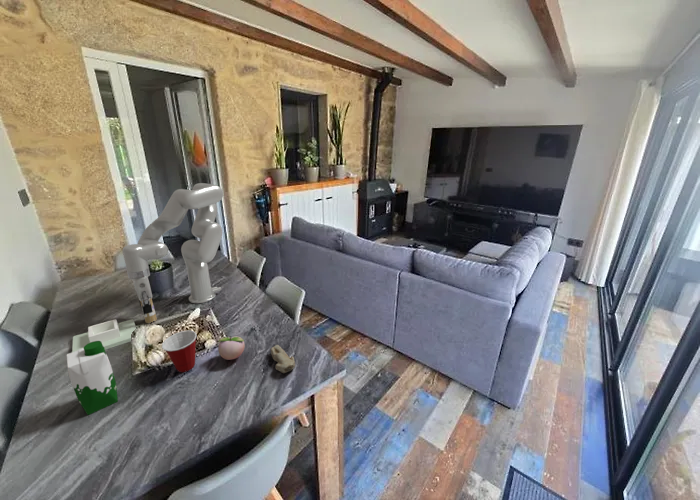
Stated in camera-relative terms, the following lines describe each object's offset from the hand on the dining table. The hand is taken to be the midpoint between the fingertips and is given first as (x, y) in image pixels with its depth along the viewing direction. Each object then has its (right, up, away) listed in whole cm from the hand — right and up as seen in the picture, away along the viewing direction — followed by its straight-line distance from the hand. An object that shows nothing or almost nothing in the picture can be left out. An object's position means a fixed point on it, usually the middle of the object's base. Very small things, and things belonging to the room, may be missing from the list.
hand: (146, 308), depth 128 cm
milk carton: (+14, -21, -39) cm, 46 cm away
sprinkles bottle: (0, -6, +3) cm, 7 cm away
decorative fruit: (+47, -15, -20) cm, 53 cm away
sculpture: (+66, -16, -21) cm, 71 cm away
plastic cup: (+31, -16, -24) cm, 43 cm away
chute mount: (-9, -10, -10) cm, 17 cm away
